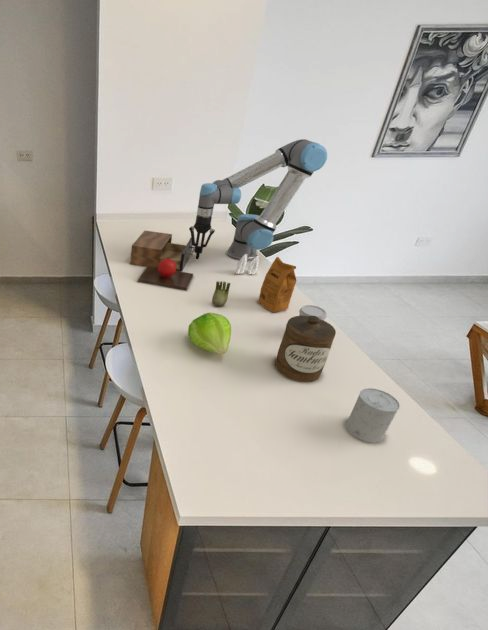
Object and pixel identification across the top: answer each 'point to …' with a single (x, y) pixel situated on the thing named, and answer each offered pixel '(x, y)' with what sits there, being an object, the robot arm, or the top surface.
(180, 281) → the board
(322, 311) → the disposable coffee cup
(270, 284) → the coffee package
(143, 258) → the cabinet
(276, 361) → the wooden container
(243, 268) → the shaker set
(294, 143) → the robot arm
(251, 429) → the top surface
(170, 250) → the drawer
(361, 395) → the grey metal can
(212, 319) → the lettuce
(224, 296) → the fennel bulb
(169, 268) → the apple
